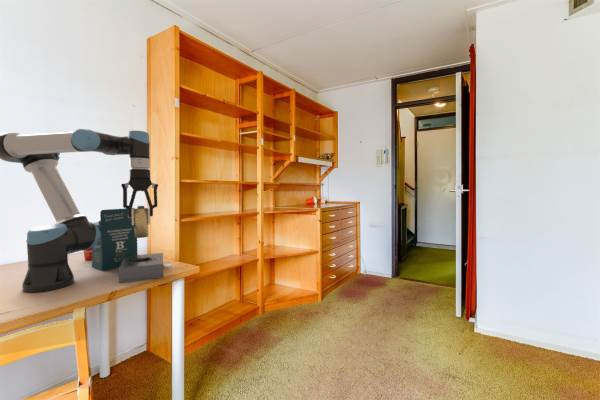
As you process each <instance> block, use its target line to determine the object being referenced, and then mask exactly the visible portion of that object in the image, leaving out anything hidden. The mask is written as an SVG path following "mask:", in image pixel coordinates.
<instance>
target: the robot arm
mask: <svg viewBox="0 0 600 400" xmlns="http://www.w3.org/2000/svg"><path fill="white" fill-rule="evenodd" d="M150 145H151V142H150V134H149V133H148V132H146V131H143V130H129V131H128V135H127V136H119V135H111V134H107V133H104V132H100V131H94V130H91V129H86V128H85V129H84V128H78V129H76V130H75V131H68V132H67V131H66V132H51V133H50V132H49V133H34V134H32V133H31V134H22V133H19V132H1V133H0V160H2V161H5V162H9V163H17V164H21V165H22V167H23V169H24V171H25V172H28V173H30V174H32V177H33V179H34V181H35V182H36V184H37V187H38V188H39V190H40V192H41V194H42V196H43V198H44V200H45V202H46V204H47V206H48V208H49V210H50V211H51V213H52V215H53V218H54V219H55V221H56V222H55V223H49V224H43V225H38V226H34V227H33V228H30V229H29V230H28V231H27V233H26V250H27V268H28V269H27V271H26V274H25V276H24V280H23V282H22V291H23V292H26V293H41V292H49V291H53V290H54V291H55V290H58V289H61V288H62V289H63V288H65V287H68V286H70V285H72V284H73V283H75V276H74V274H73V271H72V269H71V267H70V265H69V262H68V261H69V258H68V256H69V255H70V254H74V253H77V252H78V253H79V252H81V251H82V252H84V250H87V249H89V248H92V247H94V246H95V245H96V244H97V243H98V241H99V238H100V229H99V227H98V226H97V225H96V224H94V223H95V222H91V221H89V220H88V217H87V216H86V215H84V214H81V213H80V211H79V209H78V206H77V205H76V202H74V199H73V197H72V195H71V193H70V192H69V189H68V188H67V186H66V183H65V182H64V180H63V178H62V175H61V174H60V172H59V170H58V168H57V167H58V165H59V159H60V155H61V154H65V153H81V152H83V153H86V152H87V153H88V152H94V153H103V154H104V155H107V156H108V155H109V156H121V155H122V156H124V155H128V156H129V157H128V158H129V160H128V164H129V168H130V170H129V180H128V182H126V183H122V184H121V188H122V195H123V196H122V207H123V209H126V208H127V209H128V213H129V217H132V225H134V209H132V208H133V207H134V203H135V199H136V196H137V195H136V194H137V192H144V195H145V198H146V201H147V205H148V207H149V208H148V225H151V217H153V216H154V209H155V208H158V187H159V184H158V183H153V182H152V180H151V170H150V169H151V159H150V150H151V149H150ZM129 186H130V188H131V189H132V193H131V197H130V200H129V204H128V188H129ZM150 187H151V188H152V189H153V203H154V204H153V203H152V201H151V197H150V194H149V191H148V189H149V188H150Z"/></svg>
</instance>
